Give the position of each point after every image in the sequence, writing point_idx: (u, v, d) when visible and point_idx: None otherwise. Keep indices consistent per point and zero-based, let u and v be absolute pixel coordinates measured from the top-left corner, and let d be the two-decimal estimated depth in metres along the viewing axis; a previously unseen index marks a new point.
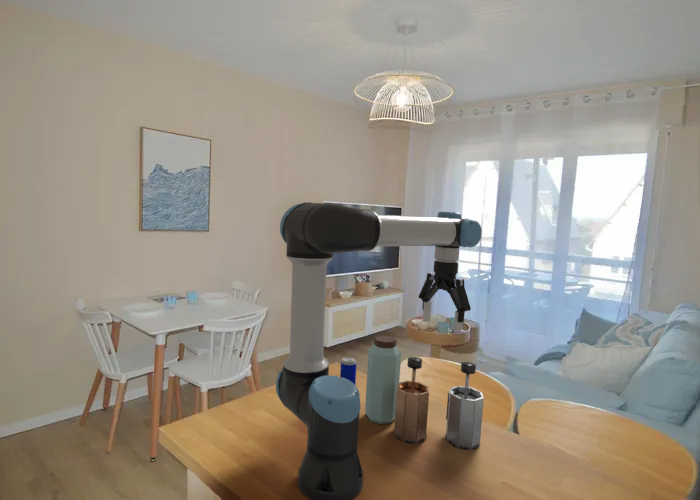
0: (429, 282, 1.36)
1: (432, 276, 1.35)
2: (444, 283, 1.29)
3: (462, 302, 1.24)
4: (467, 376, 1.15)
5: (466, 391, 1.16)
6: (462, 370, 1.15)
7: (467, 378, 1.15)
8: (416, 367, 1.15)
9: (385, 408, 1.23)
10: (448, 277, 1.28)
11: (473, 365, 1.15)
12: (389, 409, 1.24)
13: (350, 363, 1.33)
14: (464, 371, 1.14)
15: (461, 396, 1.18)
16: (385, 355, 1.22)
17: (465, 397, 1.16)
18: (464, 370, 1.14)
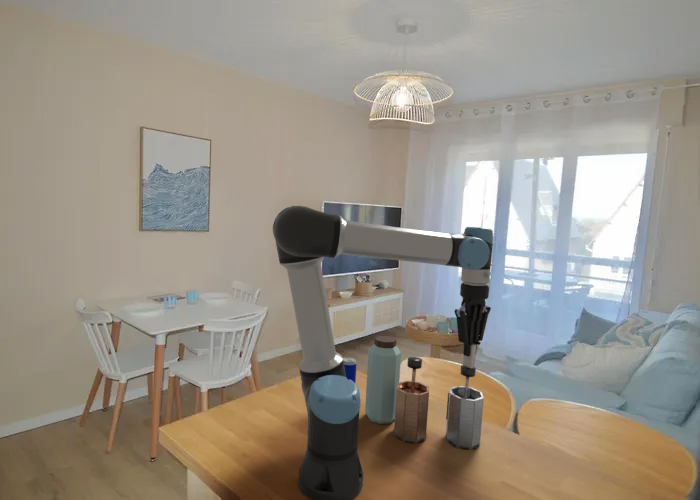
0: None
1: None
2: None
3: None
4: (467, 379, 1.15)
5: (466, 394, 1.16)
6: (462, 373, 1.15)
7: (467, 381, 1.15)
8: (416, 367, 1.15)
9: (385, 408, 1.23)
10: None
11: (473, 368, 1.15)
12: (389, 409, 1.24)
13: (350, 363, 1.33)
14: (464, 374, 1.14)
15: None
16: (385, 355, 1.22)
17: None
18: (464, 373, 1.14)
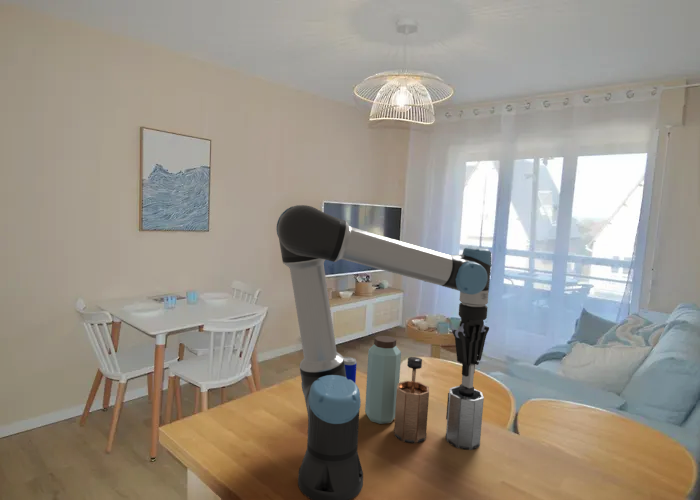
0: None
1: None
2: None
3: None
4: (465, 398, 1.16)
5: None
6: (460, 393, 1.15)
7: None
8: (416, 367, 1.15)
9: (385, 408, 1.23)
10: None
11: (471, 388, 1.15)
12: (389, 409, 1.24)
13: (350, 363, 1.33)
14: (462, 394, 1.15)
15: None
16: (385, 355, 1.22)
17: None
18: (463, 393, 1.15)
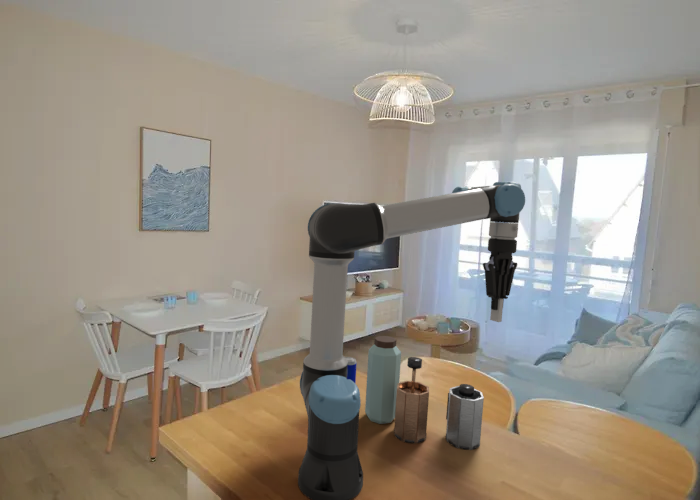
0: None
1: None
2: None
3: None
4: (465, 398, 1.16)
5: None
6: (460, 393, 1.15)
7: None
8: (416, 367, 1.15)
9: (385, 408, 1.23)
10: None
11: (471, 388, 1.15)
12: (389, 409, 1.24)
13: (350, 363, 1.33)
14: (462, 394, 1.15)
15: None
16: (385, 355, 1.22)
17: None
18: (463, 393, 1.15)
